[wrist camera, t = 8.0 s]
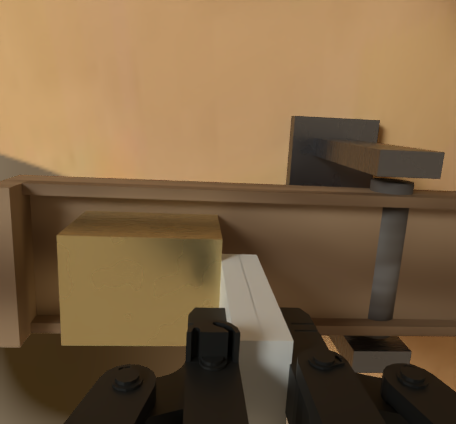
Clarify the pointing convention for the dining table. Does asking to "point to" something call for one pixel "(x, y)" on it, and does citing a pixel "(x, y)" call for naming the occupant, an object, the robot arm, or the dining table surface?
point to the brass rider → (136, 276)
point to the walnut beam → (257, 247)
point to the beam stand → (356, 178)
